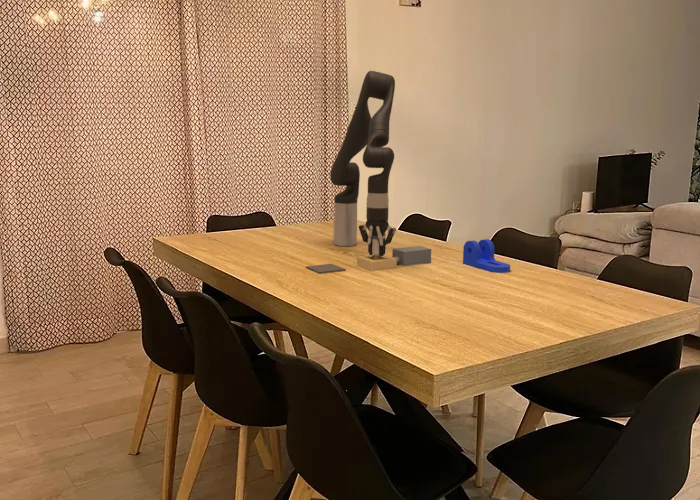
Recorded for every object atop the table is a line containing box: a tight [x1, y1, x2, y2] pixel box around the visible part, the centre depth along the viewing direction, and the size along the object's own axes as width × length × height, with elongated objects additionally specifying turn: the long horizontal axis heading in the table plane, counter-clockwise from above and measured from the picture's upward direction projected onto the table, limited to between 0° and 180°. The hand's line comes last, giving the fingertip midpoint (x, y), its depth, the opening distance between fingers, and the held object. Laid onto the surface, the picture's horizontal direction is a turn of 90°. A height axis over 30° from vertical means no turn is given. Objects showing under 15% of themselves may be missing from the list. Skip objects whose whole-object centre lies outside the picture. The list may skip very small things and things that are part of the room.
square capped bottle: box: [372, 235, 381, 260], centre depth 244 cm, size 3×3×10 cm
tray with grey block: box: [356, 245, 432, 271], centre depth 248 cm, size 26×10×5 cm, turn 121°
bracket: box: [462, 238, 511, 274], centre depth 245 cm, size 18×8×9 cm, turn 29°
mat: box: [305, 263, 347, 275], centre depth 239 cm, size 10×10×1 cm
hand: (376, 254), depth 244 cm, fingers closed on square capped bottle, 3 cm apart
